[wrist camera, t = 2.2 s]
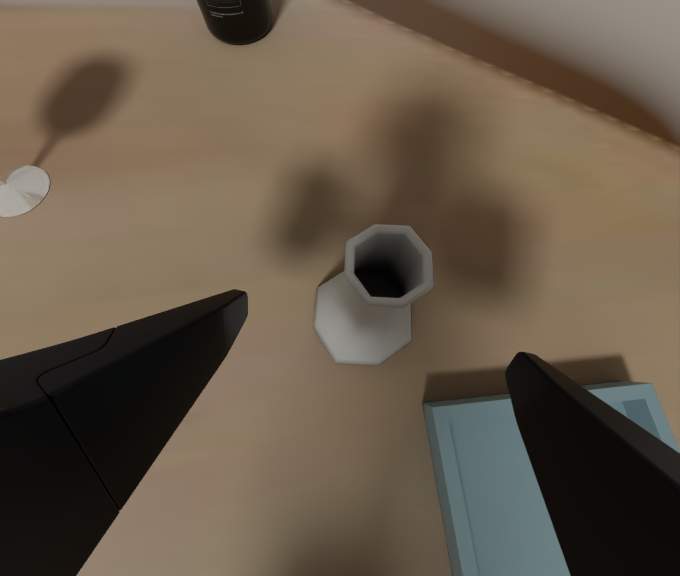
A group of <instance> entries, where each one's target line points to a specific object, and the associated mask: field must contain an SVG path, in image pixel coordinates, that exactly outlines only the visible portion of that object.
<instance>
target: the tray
mask: <svg viewBox="0 0 680 576" xmlns="http://www.w3.org/2000/svg"><path fill="white" fill-rule="evenodd" d="M580 386H582V387H583V388H585V389H586V390H588V391H589V392H591V393H592V394H594V395H595V396H597V397H598V398H599V399H601V400H602V401H604V402H605V403H607V404H608V405H610V406H611V407H613V408H614V409H616V410H617V411H619V412H620V413H621V414H623V415H624V416H626V417H627V418H629V419H630V420H632V421H633V422H635V423H636V424H638V425H639V426H641V427H642V428H643V429H645V430H646V431H648V432H649V433H651V434H652V435H654V436H655V437H657V438H658V439H660V440H661V441H663V442H664V443H665V444H667V445H668V446H670V447H671V448H673V449H674V450H676V451H677V452H679V453H680V450H679V448H678V445H677V443H676V441H675V438H674V436H673V433H672V431H671V428H670V426H669V424H668V421H667V419H666V416H665V414H664V412H663V409H662V407H661V404H660V402H659V400H658V397H657V395H656V392H655V390H654V388H653V385H652V383H642V382H626V381H617V382H608V383H598V384H589V385H580ZM422 404H423V410H424V415H425V421H426V427H427V433H428V438H429V444H430V450H431V456H432V461H433V467H434V473H435V479H436V484H437V490H438V496H439V501H440V507H441V513H442V519H443V524H444V530H445V536H446V542H447V547H448V553H449V559H450V565H451V570H452V576H570V573H569V570H568V567H567V564H566V562H565V559H564V556H563V553H562V550H561V547H560V545H559V542H558V539H557V536H556V533H555V530H554V528H553V525H552V522H551V519H550V516H549V513H548V511H547V508H546V505H545V502H544V499H543V496H542V494H541V491H540V488H539V485H538V482H537V479H536V477H535V474H534V471H533V468H532V465H531V462H530V460H529V457H528V454H527V451H526V448H525V445H524V443H523V440H522V437H521V434H520V431H519V428H518V425H517V422H516V418H515V415H514V411H513V406H512V402H511V398H510V394H509V393H507V394H498V395H489V396H480V397H471V398H462V399H453V400H444V401H435V402H426V403H422Z"/></svg>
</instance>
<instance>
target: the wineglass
mask: <svg viewBox="0 0 680 576" xmlns="http://www.w3.org/2000/svg"><path fill="white" fill-rule="evenodd" d="M49 184H50V180H49V177H48V174H47V173H46V172H45V171H44V170H43V169H41V168H38V167H36V166H21V167H16V168H13V169H11V170H8V171H6V172H5V173H3V174H1V175H0V216H2V217H12V216H18V215H21V214H23V213H26V212H28V211H30V210H31V209H33V208H34V207H36V206H37V205H38V204H39V203H40V202H41V201H42V200H43V199H44V198H45V196H46V194H47V192H48V190H49Z"/></svg>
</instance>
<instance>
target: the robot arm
mask: <svg viewBox="0 0 680 576" xmlns="http://www.w3.org/2000/svg"><path fill="white" fill-rule="evenodd" d="M247 315H248V296H247V293H246V292H245V291H241V290H236V289H233V290H230V291H227V292H224V293H221V294H218V295H214V296H211V297H208V298H205V299H202V300H199V301H196V302H192V303H189V304H186V305H183V306H180V307H177V308H174V309H170V310H167V311H164V312H161V313H158V314H155V315H152V316H148V317H145V318H142V319H139V320H136V321H133V322H130V323H126V324H123V325H120V326H117V328H110V329H107V330H104V331H101V332H98V333H95V334H91V335H88V336H85V337H82V338H78V339H75V340H72V341H68V342H65V343H61V344H57V345H54V346H50V347H47V348H43V349H39V350H36V351H32V352H28V353H25V354H21V355H17V356H13V357H10V358H6V359H2V360H0V576H76V575H77V574H78V572H79V571H80V569H81V568H82V566H83V565H84V564H85V562H86V561H87V559H88V558H89V556H90V555H91V553H92V552H93V550H94V549H95V547H96V546H97V545H98V543H99V542H100V540H101V539H102V537H103V536H104V534H105V533H106V531H107V530H108V528H109V527H110V526H111V524H112V523H113V521H114V520H115V518H116V517H117V515H118V514H119V510H121V509H122V508H123V506H124V505H125V503H126V502H127V500H128V499H129V497H130V496H131V495H132V493H133V492H134V490H135V489H136V487H137V486H138V484H139V483H140V481H141V480H142V478H143V477H144V476H145V474H146V473H147V471H148V470H149V468H150V467H151V465H152V464H153V462H154V461H155V460H156V458H157V457H158V455H159V454H160V452H161V451H162V449H163V448H164V446H165V445H166V443H167V442H168V441H169V439H170V438H171V436H172V435H173V433H174V432H175V430H176V429H177V427H178V426H179V424H180V423H181V422H182V420H183V419H184V417H185V416H186V414H187V413H188V411H189V410H190V408H191V407H192V406H193V404H194V403H195V401H196V400H197V398H198V397H199V395H200V394H201V392H202V391H203V389H204V388H205V387H206V385H207V384H208V382H209V381H210V379H211V378H212V376H213V375H214V373H215V372H216V371H217V369H218V368H219V366H220V365H221V363H222V362H223V360H224V359H225V357H226V356H227V354H228V352H229V350H230V349H231V347H232V345H233V343H234V341H235V339H236V337H237V335H238V333H239V332H240V330H241V328H242V326H243V324H244V322H245V320H246V318H247ZM505 377H506V382H507V386H508V390H509V394H510V398H511V402H512V406H513V411H514V415H515V418H516V422H517V425H518V428H519V431H520V434H521V437H522V440H523V443H524V445H525V448H526V451H527V454H528V457H529V460H530V462H531V465H532V468H533V471H534V474H535V477H536V479H537V482H538V485H539V488H540V491H541V494H542V496H543V499H544V502H545V505H546V508H547V511H548V513H549V516H550V519H551V522H552V525H553V528H554V530H555V533H556V536H557V539H558V542H559V545H560V547H561V550H562V553H563V556H564V559H565V562H566V564H567V567H568V570H569V573H570V576H680V453H679V452H677V451H676V450H674V449H673V448H671V447H670V446H668V445H667V444H665V443H664V442H663V441H661V440H660V439H658V438H657V437H655V436H654V435H652V434H651V433H649V432H648V431H646V430H645V429H643V428H642V427H641V426H639V425H638V424H636V423H635V422H633V421H632V420H630V419H629V418H627V417H626V416H624V415H623V414H621V413H620V412H619V411H617V410H616V409H614V408H613V407H611V406H610V405H608V404H607V403H605V402H604V401H602V400H601V399H599V398H598V397H597V396H595V395H594V394H592V393H591V392H589V391H588V390H586V389H585V388H583V387H582V386H580V385H579V384H577V383H576V382H575V381H573V380H572V379H570V378H569V377H567V376H566V375H564V374H563V373H561V372H560V371H558V370H557V369H555V368H554V367H553V366H551V365H550V364H548V363H547V362H545V361H544V360H542V359H541V358H539V357H538V356H536V355H534V354H531V353H526V352H519V353H517V354H516V355H515V357H514V358H513V360H512V361H511V363H510V364H509V366H508V367H507V369H506V372H505Z"/></svg>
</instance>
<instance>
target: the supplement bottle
mask: <svg viewBox="0 0 680 576" xmlns="http://www.w3.org/2000/svg"><path fill="white" fill-rule="evenodd" d="M197 2H198V5H199V7H200V10H201V12H202V15H203V18H204V20H205V23H206V25H207V27H208V29H209V31H210V32H211V33H212V34H213V36H215V37H216V38H217V39H219V40H220V41H222V42H225V43H229V44H247V43H251V42H254V41H256V40H258V39H260V38H261V37H263V36H264V35H265V34H266V33H267V32H268V30H269V28H270V26H271V21H272V15H271V9H270V3H269V0H197Z"/></svg>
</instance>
